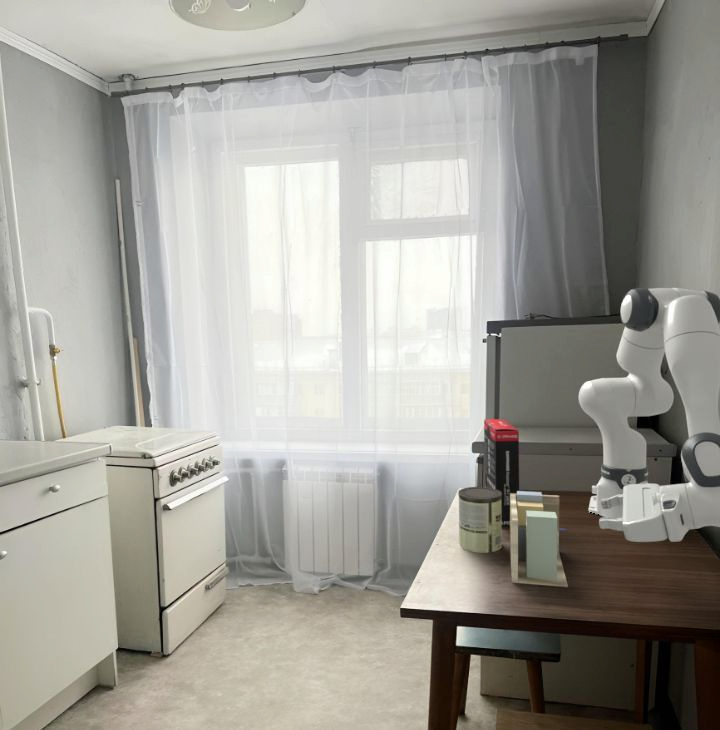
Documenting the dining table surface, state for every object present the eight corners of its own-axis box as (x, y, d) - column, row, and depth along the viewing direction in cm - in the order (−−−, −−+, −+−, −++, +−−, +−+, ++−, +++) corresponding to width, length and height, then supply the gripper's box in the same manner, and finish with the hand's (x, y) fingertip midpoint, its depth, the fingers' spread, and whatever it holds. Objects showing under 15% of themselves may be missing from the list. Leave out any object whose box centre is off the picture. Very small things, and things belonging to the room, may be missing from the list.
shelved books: (516, 549, 138) (516, 490, 137) (540, 551, 137) (541, 492, 136) (517, 560, 132) (517, 499, 131) (543, 562, 130) (543, 500, 130)
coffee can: (460, 540, 148) (460, 485, 147) (502, 543, 145) (502, 487, 144) (456, 555, 138) (456, 496, 137) (501, 559, 135) (501, 499, 134)
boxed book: (525, 569, 127) (525, 510, 126) (555, 571, 125) (555, 512, 124) (526, 577, 123) (526, 516, 122) (557, 579, 121) (557, 518, 121)
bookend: (517, 554, 135) (517, 520, 135) (541, 555, 134) (542, 521, 134) (517, 561, 131) (517, 526, 130) (543, 563, 130) (543, 528, 129)
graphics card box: (521, 531, 154) (521, 428, 152) (494, 531, 154) (494, 428, 153) (506, 510, 171) (506, 418, 170) (482, 511, 171) (482, 418, 170)
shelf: (509, 551, 140) (510, 493, 139) (558, 555, 137) (558, 495, 137) (511, 587, 121) (511, 520, 120) (568, 592, 118) (568, 523, 117)
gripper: (666, 473, 126) (599, 480, 133) (673, 514, 108) (594, 520, 114) (673, 500, 127) (605, 506, 133) (680, 546, 109) (602, 550, 115)
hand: (600, 513), depth 124 cm, fingers open, 8 cm apart
